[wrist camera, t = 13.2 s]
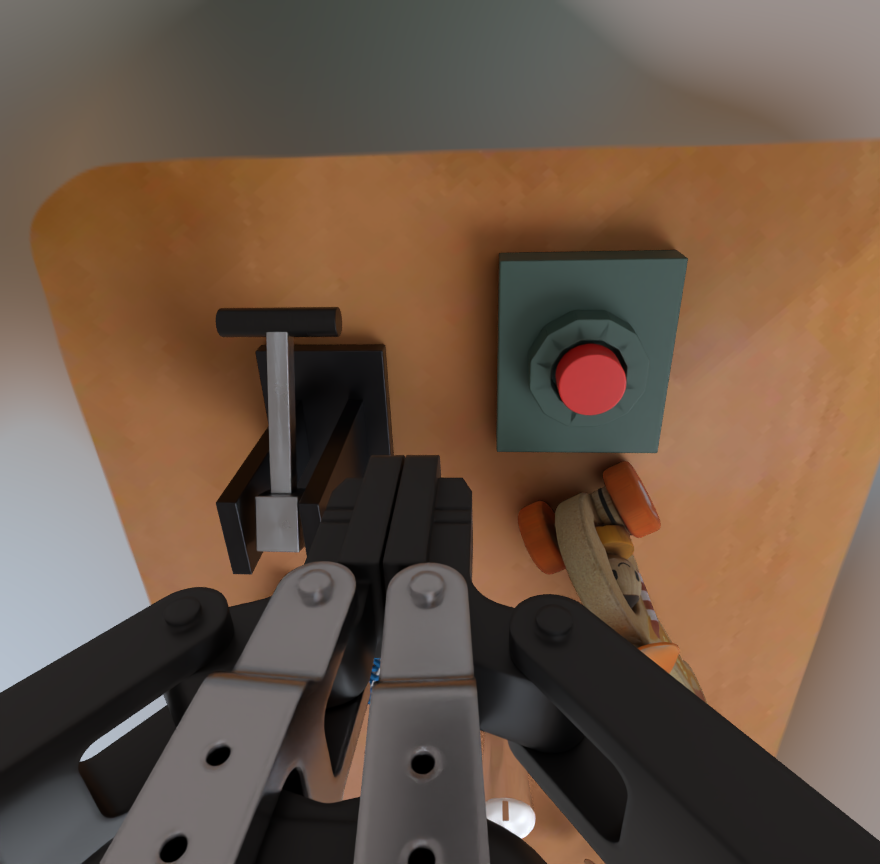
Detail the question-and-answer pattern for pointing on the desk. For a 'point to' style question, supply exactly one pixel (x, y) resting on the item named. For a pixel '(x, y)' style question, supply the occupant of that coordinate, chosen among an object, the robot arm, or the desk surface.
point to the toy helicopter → (607, 560)
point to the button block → (585, 322)
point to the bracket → (314, 439)
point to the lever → (280, 410)
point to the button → (590, 379)
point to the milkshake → (506, 788)
